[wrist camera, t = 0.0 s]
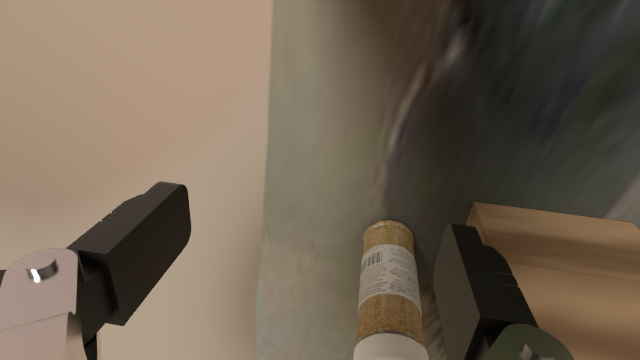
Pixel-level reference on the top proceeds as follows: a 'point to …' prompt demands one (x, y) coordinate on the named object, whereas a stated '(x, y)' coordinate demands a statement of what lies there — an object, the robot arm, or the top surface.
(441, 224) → the top surface
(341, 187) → the top surface
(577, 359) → the block
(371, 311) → the sprinkles bottle
